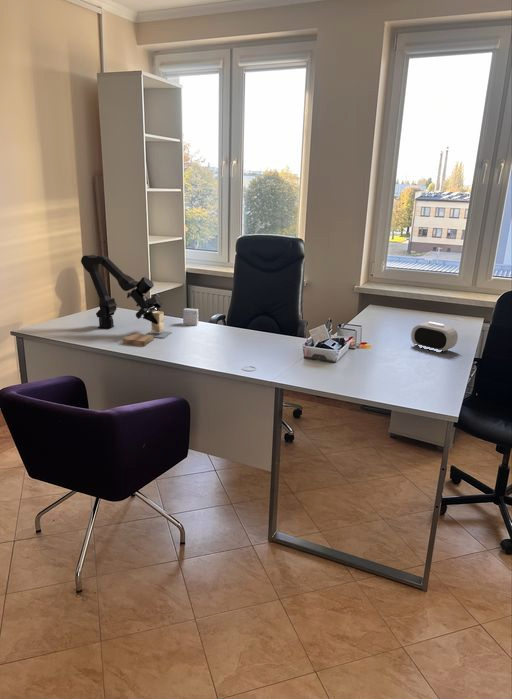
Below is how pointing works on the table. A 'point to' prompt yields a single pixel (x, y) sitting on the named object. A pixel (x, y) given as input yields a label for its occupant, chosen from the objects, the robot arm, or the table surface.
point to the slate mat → (159, 334)
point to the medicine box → (190, 316)
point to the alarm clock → (434, 336)
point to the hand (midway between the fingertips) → (160, 322)
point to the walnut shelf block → (138, 339)
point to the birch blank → (160, 319)
